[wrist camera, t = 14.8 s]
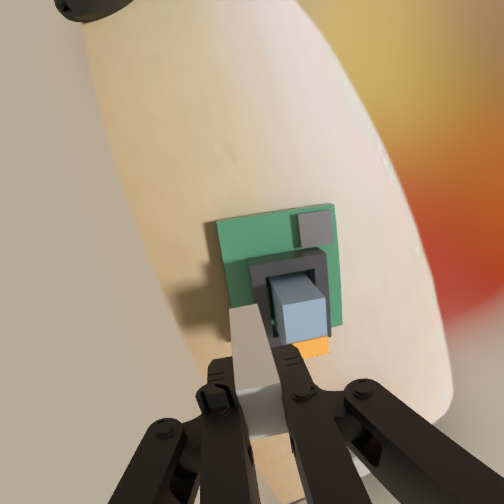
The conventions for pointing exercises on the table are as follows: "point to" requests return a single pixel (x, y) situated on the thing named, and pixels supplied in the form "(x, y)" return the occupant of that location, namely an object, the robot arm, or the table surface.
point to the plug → (299, 313)
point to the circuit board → (281, 258)
